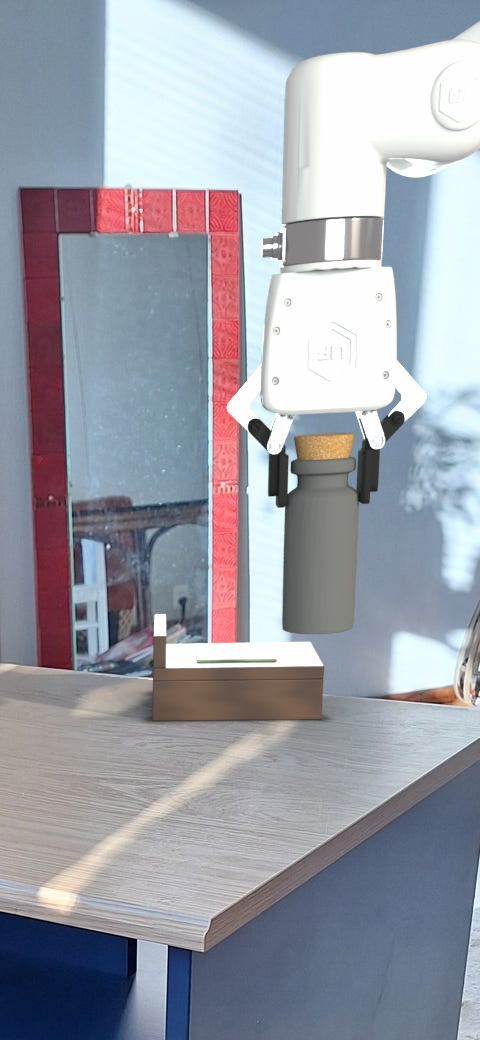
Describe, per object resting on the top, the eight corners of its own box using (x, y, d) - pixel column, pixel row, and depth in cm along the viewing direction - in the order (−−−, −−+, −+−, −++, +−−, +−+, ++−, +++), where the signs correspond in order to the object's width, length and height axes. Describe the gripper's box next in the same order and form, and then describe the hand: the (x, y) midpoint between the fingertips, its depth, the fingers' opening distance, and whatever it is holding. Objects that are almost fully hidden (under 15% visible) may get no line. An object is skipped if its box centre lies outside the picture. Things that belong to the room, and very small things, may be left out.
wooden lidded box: (308, 690, 152) (312, 611, 149) (321, 719, 140) (326, 633, 136) (153, 692, 154) (154, 614, 151) (152, 721, 141) (153, 636, 138)
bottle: (367, 629, 121) (377, 432, 114) (306, 637, 119) (312, 437, 113) (327, 621, 126) (334, 431, 119) (268, 628, 124) (272, 436, 118)
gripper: (217, 254, 108) (215, 513, 116) (457, 239, 106) (439, 503, 114) (214, 261, 115) (212, 505, 122) (439, 247, 113) (423, 496, 121)
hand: (322, 502), depth 118 cm, fingers closed on bottle, 5 cm apart
